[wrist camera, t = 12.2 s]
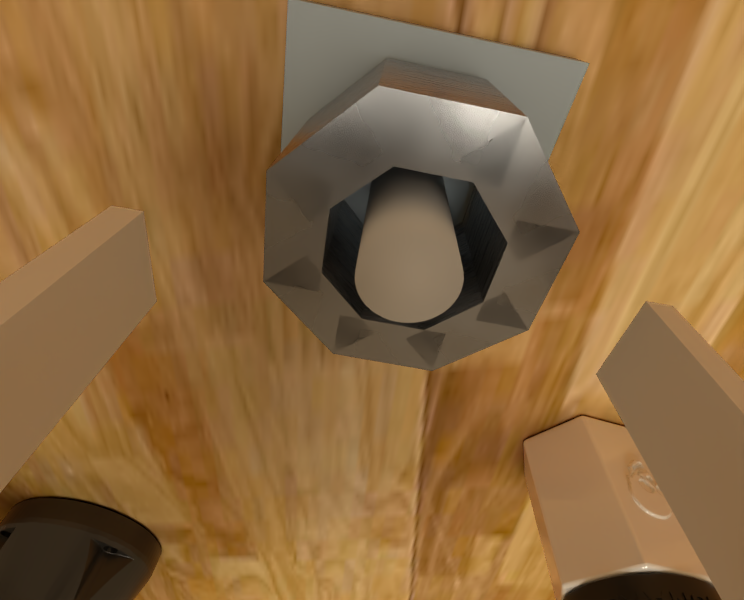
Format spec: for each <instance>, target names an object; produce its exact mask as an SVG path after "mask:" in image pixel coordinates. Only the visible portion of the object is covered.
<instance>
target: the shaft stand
mask: <svg viewBox="0 0 744 600" xmlns="http://www.w3.org/2000/svg"><path fill="white" fill-rule="evenodd" d="M386 58H390V59H395V60H400V61H404V62H409V63H414V64H418V65H423V66H428V67H432V68H437V69H442V70H446V71H451V72H456V73H460V74H465V75H470V76H474V77H479V78H484V79H487V80H488V81H489V82H491V83H492V84H493V85H494V86H495V87H496V88H497V89H498V90H499V91H500V92H501V93H502V94H503V95H504V96H506V97H507V98H508V99H509V100H510V101H511V102H512V103H513V104H514V105H515V106H516V107H517V108H518V109H519V110H521V111H522V112H523V113H524V114H525V115H526V116H527V117H528V120H529V122H530V124H531V126H532V128H533V130H534V133H535V135H536V137H537V139H538V141H539V144H540V146H541V148H542V150H543V152H544V155H545V157H546V159H547V161H548V160H549V157H550V155H551V153H552V150H553V148H554V146H555V143H556V141H557V138H558V136H559V134H560V131H561V129H562V127H563V124H564V122H565V120H566V117H567V115H568V113H569V110H570V108H571V106H572V103H573V101H574V99H575V96H576V94H577V91H578V89H579V87H580V84H581V82H582V80H583V77H584V75H585V73H586V70H587V68H588V66H589V63H587V62H584V61H581V60H578V59H574V58H569V57H565V56H560V55H556V54H551V53H546V52H542V51H537V50H533V49H528V48H523V47H519V46H514V45H510V44H505V43H500V42H496V41H491V40H487V39H482V38H477V37H473V36H468V35H464V34H459V33H454V32H450V31H445V30H441V29H436V28H431V27H427V26H422V25H418V24H413V23H408V22H404V21H399V20H394V19H390V18H385V17H381V16H376V15H371V14H367V13H362V12H358V11H353V10H348V9H344V8H339V7H335V6H330V5H325V4H321V3H316V2H312V1H307V0H288V10H287V32H286V53H285V74H284V95H283V116H282V138H281V152H282V151H283V150H284V149H285V147H286V146H287V145H288V144H289V143H290V141H291V140H292V139H293V138H294V136H295V135H296V134H297V133H298V131H299V130H300V129H301V128H302V127H303V125H304V124H305V123H306V122H307V120H308V119H310V118H311V117H312V116H313V115H315V114H316V113H317V112H318V111H320V110H321V109H322V108H324V107H325V106H326V105H327V104H329V103H330V102H331V101H332V100H334V99H335V98H336V97H338V96H339V95H340V94H341V93H343V92H344V91H345V90H347V89H348V88H349V87H350V86H352V85H353V84H354V83H355V82H357V81H358V80H359V79H361V78H362V77H363V76H364V75H366V74H367V73H368V72H370V71H371V70H372V69H373V68H375V67H376V66H377V65H378V64H380V63H381V62H382V61H384V60H385V59H386ZM473 187H474V183H473V182H469V181H464V180H459V179H454V178H449V177H444V176H439V175H434V174H429V173H424V172H419V171H414V170H409V169H404V168H399V167H392V168H391V169H389V170H388V171H386V172H385V173H383V174H381V175H380V176H378V177H377V178H375V179H374V180H372V181H371V182H369V183H368V184H366V185H365V186H363V187H362V188H360V189H359V190H357V191H356V192H354V193H353V194H351V195H350V196H348V197H347V198H345V201H346V202H347V203H348V205H349V206H350V207H351V209H352V210H353V211H354V213H355V214H356V215H357V217H358V218H359V219H360V221H361V222H362V223H363V231H362V236H361V242H360V247H359V253H358V258H357V264H356V269H355V285H356V289H357V292H358V294H359V296H360V298H361V300H362V301H363V302H364V304H365V305H366V306H367V307H368V308H369V309H370V310H372V311H373V312H374V313H376V314H377V315H379V316H381V317H383V318H386V319H388V320H391V321H396V322H402V323H415V322H421V321H426V320H429V319H432V318H434V317H436V316H438V315H440V314H442V313H443V312H445V311H446V310H447V309H448V308H449V307H451V306H452V304H453V303H454V302H455V301H456V299H457V298H458V296H459V294H460V292H461V290H462V286H463V281H464V272H463V267H462V262H461V257H460V253H459V248H458V244H457V239H456V235H455V230H454V226H455V225H457V224H459V223H460V222H462V220H463V217H464V214H465V211H466V208H467V205H468V202H469V199H470V196H471V193H472V190H473Z"/></svg>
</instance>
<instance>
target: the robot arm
mask: <svg viewBox="0 0 744 600" xmlns="http://www.w3.org/2000/svg"><path fill="white" fill-rule="evenodd" d="M156 302H157V299H156V293H155V286H154V279H153V272H152V265H151V259H150V252H149V245H148V238H147V231H146V225H145V218H144V211H140V210H134V209H128V208H123V207H117V206H110V207H109V208H107V209H106V210H104V211H103V212H101V213H100V214H99V215H97V216H96V217H94V218H93V219H91V220H90V221H88V222H87V223H86V224H84V225H83V226H81V227H80V228H78V229H77V230H75V231H74V232H72V233H71V234H70V235H68V236H67V237H65V238H64V239H62V240H61V241H59V242H58V243H57V244H55V245H54V246H52V247H51V248H49V249H48V250H46V251H45V252H43V253H42V254H41V255H39V256H38V257H36V258H35V259H33V260H32V261H30V262H29V263H28V264H26V265H25V266H23V267H22V268H20V269H19V270H17V271H16V272H14V273H13V274H12V275H10V276H9V277H7V278H6V279H4V280H3V281H1V282H0V493H1V491H2V490H3V489H4V488H5V486H6V485H7V484H8V483H9V482H10V480H11V479H12V478H13V477H14V475H15V474H16V473H17V472H18V471H19V469H20V468H21V467H22V466H23V464H24V463H25V462H26V461H27V460H28V458H29V457H30V456H31V455H32V453H33V452H34V451H35V450H36V448H37V447H38V446H39V445H40V444H41V442H42V441H43V440H44V439H45V437H46V436H47V435H48V434H49V433H50V431H51V430H52V429H53V428H54V426H55V425H56V424H57V423H58V422H59V420H60V419H61V418H62V417H63V415H64V414H65V413H66V412H67V411H68V409H69V408H70V407H71V406H72V404H73V403H74V402H75V401H76V400H77V398H78V397H79V396H80V395H81V393H82V392H83V391H84V390H85V388H86V387H87V386H88V385H89V384H90V382H91V381H92V380H93V379H94V377H95V376H96V375H97V374H98V373H99V371H100V370H101V369H102V368H103V366H104V365H105V364H106V363H107V362H108V360H109V359H110V358H111V357H112V355H113V354H114V353H115V352H116V351H117V349H118V348H119V347H120V346H121V344H122V343H123V342H124V341H125V340H126V338H127V337H128V336H129V335H130V333H131V332H132V331H133V330H134V329H135V327H136V326H137V325H138V324H139V322H140V321H141V320H142V319H143V317H144V316H145V315H146V314H147V313H148V311H149V310H150V309H151V308H152V306H153V305H154V304H155V303H156ZM596 375H597V376H598V378H599V380H600V382H601V384H602V385H603V387H604V389H605V391H606V393H607V394H608V396H609V398H610V400H611V402H612V403H613V405H614V407H615V409H616V411H617V412H618V414H619V416H620V418H621V420H622V421H623V423H624V425H625V427H626V429H627V430H628V432H629V434H630V436H631V438H632V439H633V441H634V443H635V445H636V447H637V448H638V450H639V452H640V454H641V456H642V457H643V459H644V461H645V463H646V465H647V466H648V468H649V470H650V472H651V474H652V475H653V477H654V479H655V481H656V483H657V484H658V486H659V488H660V490H661V492H662V493H663V495H664V497H665V499H666V501H667V502H668V504H669V506H670V508H671V510H672V511H673V513H674V515H675V517H676V519H677V520H678V522H679V524H680V526H681V528H682V529H683V531H684V533H685V535H686V537H687V538H688V540H689V542H690V544H691V546H692V547H693V549H694V551H695V553H696V555H697V556H698V558H699V560H700V562H701V564H702V565H703V567H704V569H705V571H706V573H707V574H708V576H709V578H710V580H711V582H712V583H713V585H714V587H715V589H716V591H717V592H718V594H719V596H720V598H721V599H722V600H744V381H743V380H742V379H741V378H740V377H739V376H738V374H737V373H736V372H735V371H734V370H733V369H732V368H731V367H730V366H729V365H728V364H727V363H726V362H725V361H724V360H723V359H722V358H721V356H720V355H719V354H718V353H717V352H716V351H715V350H714V349H713V348H712V347H711V346H710V345H709V344H708V343H707V342H706V341H705V340H704V338H703V337H702V336H701V335H700V334H699V333H698V332H697V331H696V330H695V329H694V328H693V327H692V326H691V325H690V324H689V323H688V322H687V320H686V319H685V318H684V317H683V316H682V315H681V314H680V313H679V312H678V311H677V310H676V309H675V308H674V307H673V306H670V305H664V304H659V303H653V302H648V301H646V302H645V303H644V305H643V306H642V308H641V309H640V311H639V312H638V314H637V315H636V317H635V318H634V319H633V321H632V322H631V324H630V325H629V327H628V328H627V330H626V331H625V333H624V334H623V336H622V337H621V338H620V340H619V341H618V343H617V344H616V346H615V347H614V349H613V350H612V352H611V353H610V355H609V356H608V357H607V359H606V360H605V362H604V363H603V365H602V366H601V368H600V369H599V371H598V372H597V374H596ZM160 555H161V548H160V545H159V543H158V542H157V540H156V539H155V538H154V537H153V535H152V534H150V533H149V532H148V531H147V530H146V529H144V528H143V527H142V526H140V525H139V524H137V523H135V522H134V521H132V520H130V519H128V518H126V517H124V516H122V515H120V514H117V513H115V512H113V511H110V510H107V509H104V508H101V507H98V506H95V505H91V504H87V503H83V502H78V501H73V500H66V499H56V498H38V499H31V500H26V501H23V502H20V503H18V504H16V505H15V506H14V507H13V508H12V509H11V510H10V512H9V513H8V514H7V515H6V517H5V518H4V519H3V521H2V522H1V523H0V600H134V599H135V597H136V596H137V595H138V593H139V592H140V591H141V590H142V588H143V587H144V586H145V584H146V583H147V582H148V580H149V579H150V577H151V575H152V573H153V571H154V569H155V567H156V564H157V562H158V560H159V557H160Z"/></svg>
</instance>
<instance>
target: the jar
mask: <svg viewBox="0 0 744 600" xmlns="http://www.w3.org/2000/svg"><path fill="white" fill-rule="evenodd" d="M523 447H524V470H525V480H526V484H527V488H528V492H529V496H530V499H531V503H532V507H533V511H534V515H535V519H536V523H537V527H538V531H539V535H540V539H541V543H542V547H543V551H544V555H545V559H546V562H547V566H548V570H549V574H550V578H551V582H552V586H553V590H554V594H555V598H556V600H722V599H721V598H720V596H719V594H718V592H717V591H716V589H715V587H714V585H713V583H712V582H711V580H710V578H709V576H708V574H707V573H706V571H705V569H704V567H703V565H702V564H701V562H700V560H699V558H698V556H697V555H696V553H695V551H694V549H693V547H692V546H691V544H690V542H689V540H688V538H687V537H686V535H685V533H684V531H683V529H682V528H681V526H680V524H679V522H678V520H677V519H676V517H675V515H674V513H673V511H672V510H671V508H670V506H669V504H668V502H667V501H666V499H665V497H664V495H663V493H662V492H661V490H660V488H659V486H658V484H657V483H656V481H655V479H654V477H653V475H652V474H651V472H650V470H649V468H648V466H647V465H646V463H645V461H644V459H643V457H642V456H641V454H640V452H639V450H638V448H637V447H636V445H635V443H634V441H633V439H632V438H631V436H630V434H629V432H628V430H627V429H626V427H624V426H621V425H617V424H613V423H609V422H606V421H602V420H598V419H594V418H590V417H587V416H579V417H577V418H575V419H572V420H570V421H568V422H566V423H563V424H561V425H559V426H556V427H554V428H552V429H549V430H547V431H545V432H542V433H540V434H538V435H535V436H533V437H531V438H528V439H526V440H524V442H523Z"/></svg>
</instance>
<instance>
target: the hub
mask: <svg viewBox="0 0 744 600" xmlns="http://www.w3.org/2000/svg"><path fill="white" fill-rule="evenodd" d="M392 167H399V168H404V169H409V170H414V171H419V172H424V173H429V174H434V175H439V176H444V177H449V178H454V179H459V180H464V181H469V182H473V183H474V187H473V190H472V193H471V196H470V199H469V202H468V205H467V208H466V211H465V214H464V217H463V220H462V222H460V223H459V224H457V225H455V226H454V230H455V235H456V239H457V244H458V248H459V253H460V257H461V262H462V267H463V272H464V281H463V286H462V290H461V292H460V294H459V296H458V298H457V299H456V301H455V302H454V303H453V304H452V306H451V307H449V308H448V309H447V310H446V311H445V312H443V313H442V314H440V315H438V316H436V317H434V318H432V319H429V320H426V321H421V322H415V323H402V322H396V321H391V320H388V319H386V318H383V317H381V316H379V315H377V314H376V313H374V312H373V311H372V310H370V309H369V308H368V307H367V306H366V305H365V304H364V302H363V301H362V300H361V298H360V296H359V294H358V292H357V289H356V285H355V269H356V264H357V258H358V253H359V247H360V242H361V236H362V231H363V223H362V222H361V221H360V219H359V218H358V217H357V215H356V214H355V213H354V211H353V210H352V209H351V207H350V206H349V205H348V203H347V202H346V201H345V198H347V197H348V196H350V195H351V194H353V193H354V192H356V191H357V190H359V189H360V188H362V187H363V186H365V185H366V184H368V183H369V182H371V181H372V180H374V179H375V178H377V177H378V176H380V175H381V174H383V173H385V172H386V171H388V170H389V169H391V168H392ZM578 234H579V229H578V227H577V225H576V223H575V221H574V218H573V216H572V214H571V212H570V210H569V207H568V205H567V203H566V201H565V199H564V196H563V194H562V192H561V190H560V188H559V185H558V183H557V181H556V179H555V177H554V174H553V172H552V170H551V168H550V166H549V163H548V161H547V159H546V157H545V155H544V152H543V150H542V148H541V146H540V144H539V141H538V139H537V137H536V135H535V133H534V130H533V128H532V126H531V124H530V122H529V120H528V117H527V116H526V115H525V114H524V113H523V112H522V111H521V110H519V109H518V108H517V107H516V106H515V105H514V104H513V103H512V102H511V101H510V100H509V99H508V98H507V97H506V96H504V95H503V94H502V93H501V92H500V91H499V90H498V89H497V88H496V87H495V86H494V85H493V84H492V83H491V82H489V81H488V80H487V79H484V78H479V77H474V76H470V75H465V74H460V73H456V72H451V71H446V70H442V69H437V68H432V67H428V66H423V65H418V64H414V63H409V62H404V61H400V60H395V59H390V58H386V59H385V60H384V61H382V62H381V63H380V64H378V65H377V66H376V67H375V68H373V69H372V70H371V71H370V72H368V73H367V74H366V75H364V76H363V77H362V78H361V79H359V80H358V81H357V82H355V83H354V84H353V85H352V86H350V87H349V88H348V89H347V90H345V91H344V92H343V93H341V94H340V95H339V96H338V97H336V98H335V99H334V100H332V101H331V102H330V103H329V104H327V105H326V106H325V107H324V108H322V109H321V110H320V111H318V112H317V113H316V114H315V115H313V116H312V117H311V118H310V119H308V120H307V122H306V123H305V124H304V125H303V127H302V128H301V129H300V130H299V131H298V133H297V134H296V135H295V136H294V138H293V139H292V140H291V141H290V143H289V144H288V145H287V146H286V147H285V149H284V150H283V151H282V152H281V154H280V155H279V156H278V157H277V158H276V160H275V161H274V162H273V163H272V165H271V166H270V167H269V168H268V169H267V176H266V209H265V243H264V276H263V282H264V283H265V284H266V285H267V286H268V287H269V288H270V289H271V290H272V291H273V292H274V293H275V294H276V295H277V296H278V297H279V298H280V299H281V300H282V301H283V302H284V303H285V305H286V306H287V307H288V308H289V309H290V310H291V311H292V312H293V313H294V314H295V315H296V316H297V317H298V318H299V319H300V320H301V321H302V322H303V323H304V324H305V325H306V326H307V327H308V328H309V329H310V330H311V331H312V332H313V333H314V334H315V335H316V336H317V338H318V339H319V340H320V341H321V342H322V343H323V344H324V345H325V346H326V347H327V348H328V349H329V350H330V351H331V352H332V353H333V354H338V355H344V356H350V357H355V358H361V359H367V360H373V361H378V362H384V363H390V364H395V365H401V366H407V367H413V368H418V369H424V370H430V371H433V370H435V369H438V368H440V367H442V366H445V365H447V364H450V363H452V362H454V361H457V360H459V359H461V358H464V357H466V356H468V355H471V354H473V353H475V352H478V351H480V350H483V349H485V348H487V347H490V346H492V345H494V344H497V343H499V342H501V341H504V340H506V339H508V338H511V337H513V336H515V335H518V334H520V333H523V332H525V331H527V330H529V328H530V326H531V324H532V322H533V320H534V318H535V316H536V314H537V313H538V311H539V309H540V307H541V305H542V303H543V301H544V299H545V297H546V295H547V293H548V292H549V290H550V288H551V286H552V284H553V282H554V280H555V278H556V276H557V274H558V273H559V271H560V269H561V267H562V265H563V263H564V261H565V259H566V257H567V255H568V253H569V252H570V250H571V248H572V246H573V244H574V242H575V240H576V238H577V236H578Z"/></svg>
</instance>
